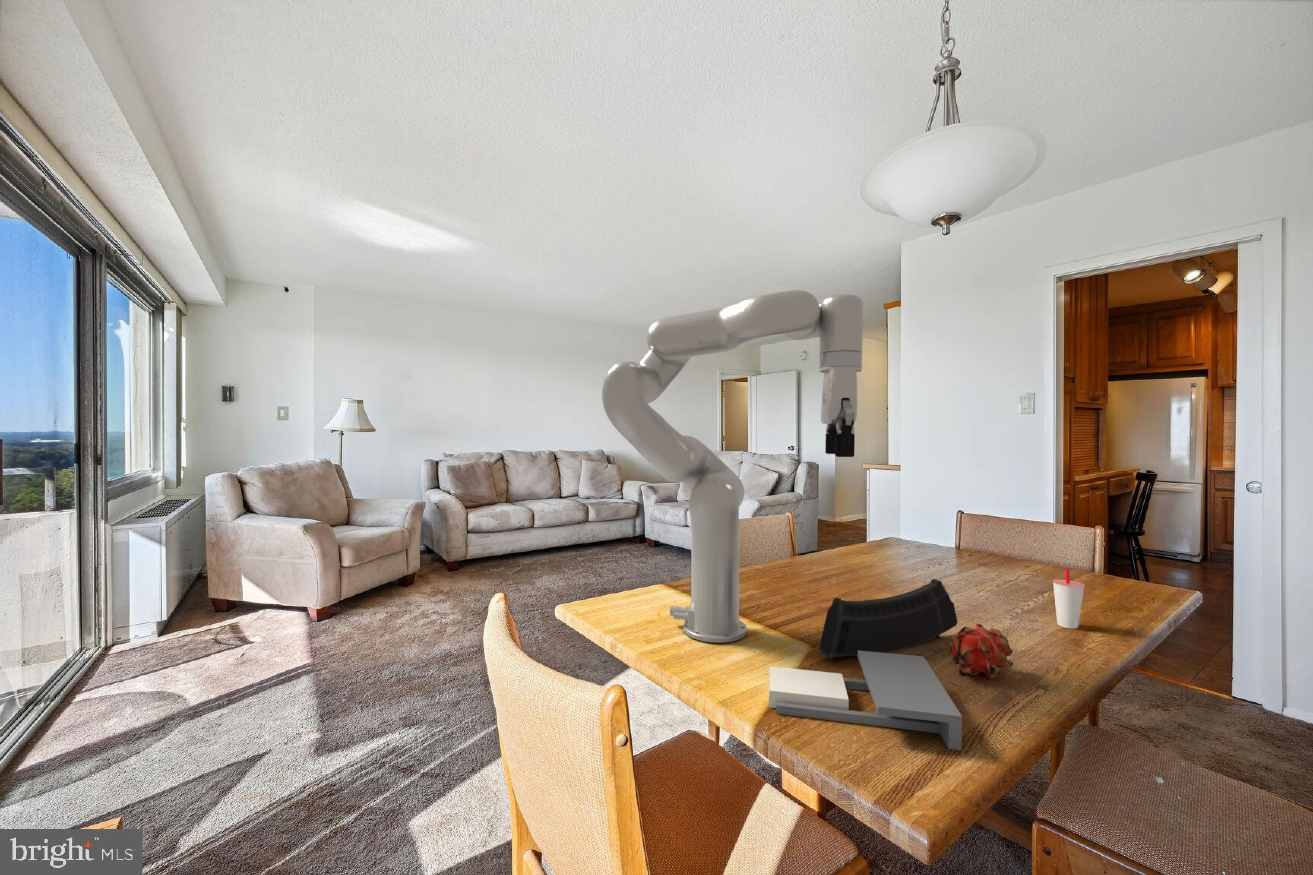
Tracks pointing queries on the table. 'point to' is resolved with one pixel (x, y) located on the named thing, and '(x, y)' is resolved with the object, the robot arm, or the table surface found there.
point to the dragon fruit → (980, 651)
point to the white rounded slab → (807, 688)
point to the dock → (895, 698)
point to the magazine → (887, 622)
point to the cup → (1068, 601)
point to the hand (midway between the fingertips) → (839, 455)
